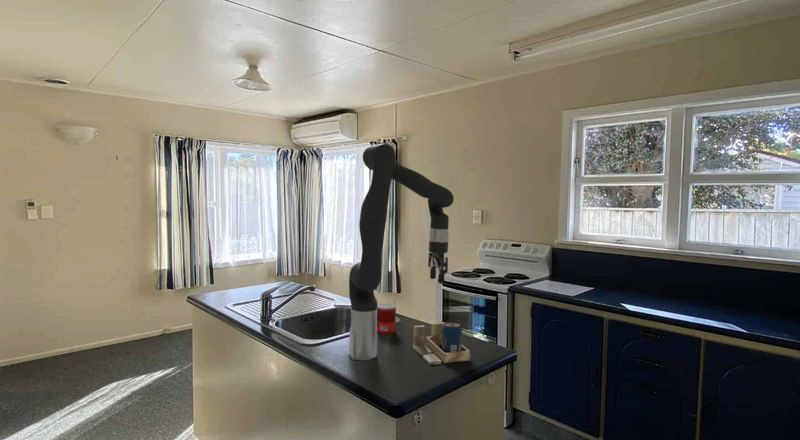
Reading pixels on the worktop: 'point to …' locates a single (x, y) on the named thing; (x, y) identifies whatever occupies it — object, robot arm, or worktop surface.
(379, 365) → the worktop surface
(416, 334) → the wooden l-shaped bracket
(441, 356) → the wooden caddy
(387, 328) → the canned food
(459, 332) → the soda can
